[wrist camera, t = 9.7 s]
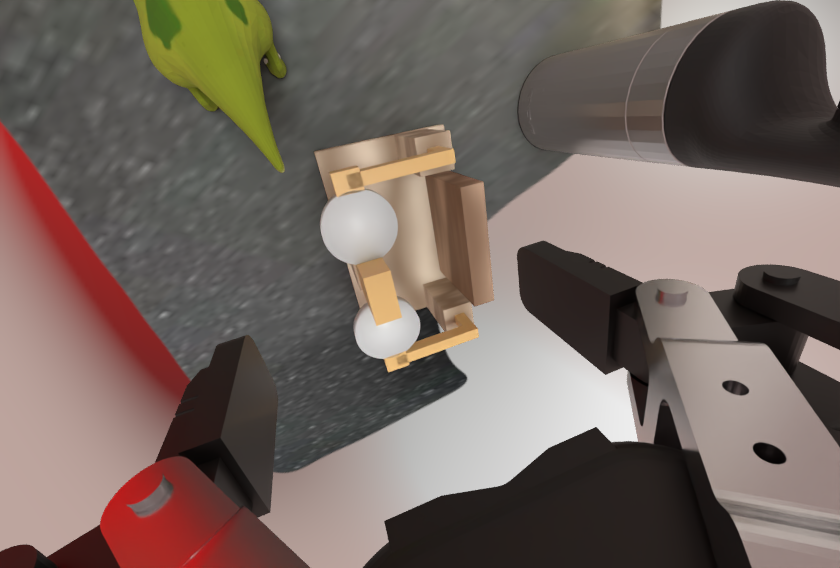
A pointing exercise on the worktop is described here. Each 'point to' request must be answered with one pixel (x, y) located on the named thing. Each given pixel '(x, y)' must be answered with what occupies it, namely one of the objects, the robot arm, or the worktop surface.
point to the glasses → (366, 245)
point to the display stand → (426, 225)
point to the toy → (217, 57)
